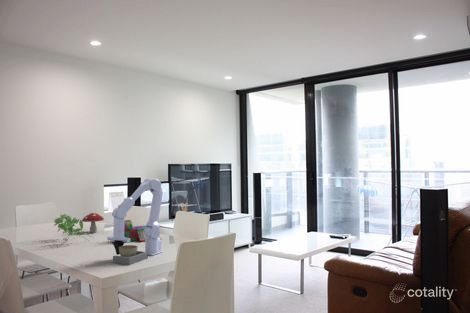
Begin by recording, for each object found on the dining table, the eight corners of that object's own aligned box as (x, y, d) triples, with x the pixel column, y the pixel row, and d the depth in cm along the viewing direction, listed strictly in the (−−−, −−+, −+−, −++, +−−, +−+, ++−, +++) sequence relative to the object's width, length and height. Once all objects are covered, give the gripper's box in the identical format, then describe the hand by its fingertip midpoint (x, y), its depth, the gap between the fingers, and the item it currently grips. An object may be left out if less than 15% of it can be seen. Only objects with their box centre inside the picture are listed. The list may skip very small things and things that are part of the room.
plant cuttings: (69, 246, 267) (43, 230, 256) (84, 225, 275) (59, 209, 263) (87, 255, 241) (59, 237, 230) (103, 232, 249) (76, 214, 237)
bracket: (131, 256, 211) (131, 250, 211) (147, 258, 206) (147, 252, 206) (112, 262, 197) (113, 255, 197) (129, 264, 192) (129, 258, 193)
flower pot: (129, 263, 196) (130, 249, 196) (114, 261, 199) (114, 247, 199) (141, 258, 205) (141, 245, 205) (126, 257, 209) (126, 244, 209)
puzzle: (126, 244, 244) (126, 222, 244) (117, 240, 258) (118, 219, 258) (161, 240, 258) (161, 219, 259) (151, 236, 272) (151, 217, 273)
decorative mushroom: (77, 233, 281) (77, 213, 281) (91, 230, 296) (91, 211, 296) (94, 234, 276) (95, 214, 276) (108, 231, 291) (108, 212, 292)
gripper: (103, 229, 205) (103, 254, 204) (124, 231, 199) (123, 257, 198) (112, 227, 211) (112, 251, 211) (132, 229, 205) (132, 254, 205)
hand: (118, 254), depth 205 cm, fingers closed
